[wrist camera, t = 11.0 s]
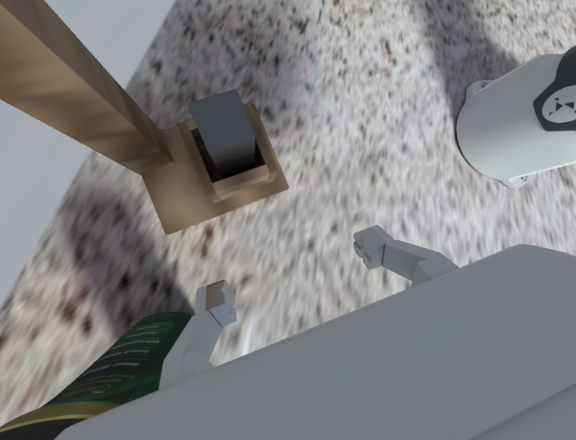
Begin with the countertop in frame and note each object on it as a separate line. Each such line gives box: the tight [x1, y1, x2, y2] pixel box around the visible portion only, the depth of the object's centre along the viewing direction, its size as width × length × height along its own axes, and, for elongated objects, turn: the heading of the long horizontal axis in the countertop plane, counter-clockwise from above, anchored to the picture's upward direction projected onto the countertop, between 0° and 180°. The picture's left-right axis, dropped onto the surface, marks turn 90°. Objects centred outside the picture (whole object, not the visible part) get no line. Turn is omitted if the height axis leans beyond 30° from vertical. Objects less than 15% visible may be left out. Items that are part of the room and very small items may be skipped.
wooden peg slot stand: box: [0, 0, 289, 234], centre depth 18 cm, size 16×12×19 cm
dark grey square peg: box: [188, 89, 255, 179], centre depth 21 cm, size 4×4×10 cm
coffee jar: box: [0, 312, 192, 440], centre depth 15 cm, size 10×8×19 cm
